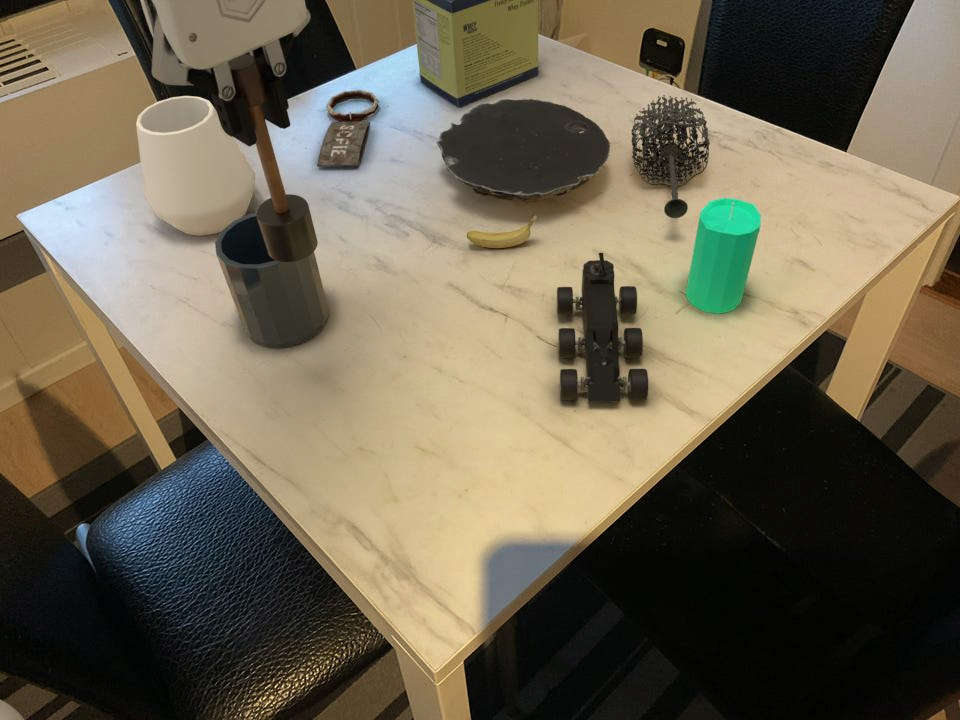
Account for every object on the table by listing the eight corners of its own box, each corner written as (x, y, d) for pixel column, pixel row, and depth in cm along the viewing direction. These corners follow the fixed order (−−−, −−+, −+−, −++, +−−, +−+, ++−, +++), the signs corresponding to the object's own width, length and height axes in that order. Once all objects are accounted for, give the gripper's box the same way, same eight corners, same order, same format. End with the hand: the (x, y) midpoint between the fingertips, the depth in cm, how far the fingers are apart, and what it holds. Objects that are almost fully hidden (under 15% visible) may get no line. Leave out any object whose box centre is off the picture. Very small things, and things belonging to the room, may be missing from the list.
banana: (535, 238, 95) (535, 210, 92) (537, 247, 94) (537, 219, 91) (467, 243, 95) (465, 216, 92) (468, 253, 93) (466, 225, 91)
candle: (716, 269, 89) (735, 178, 80) (754, 300, 85) (778, 208, 77) (673, 289, 87) (689, 198, 79) (710, 321, 84) (731, 229, 75)
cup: (230, 171, 108) (198, 74, 98) (283, 212, 101) (255, 112, 91) (138, 214, 102) (95, 115, 92) (188, 261, 95) (147, 159, 85)
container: (248, 356, 83) (218, 276, 75) (241, 301, 90) (212, 221, 82) (335, 336, 85) (314, 255, 77) (322, 282, 91) (301, 202, 83)
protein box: (540, 74, 122) (540, -31, 111) (458, 109, 116) (449, 1, 105) (498, 51, 128) (495, -51, 117) (418, 83, 122) (406, -21, 111)
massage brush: (630, 240, 93) (637, 172, 87) (627, 140, 108) (633, 74, 102) (711, 243, 92) (726, 174, 86) (698, 141, 107) (709, 75, 101)
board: (601, 128, 111) (604, 94, 107) (615, 224, 96) (618, 188, 92) (444, 133, 112) (441, 99, 108) (433, 228, 97) (429, 193, 93)
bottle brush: (270, 267, 68) (210, 81, 56) (265, 237, 71) (208, 53, 59) (321, 256, 69) (273, 69, 56) (314, 226, 72) (268, 43, 59)
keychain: (307, 170, 107) (304, 157, 106) (332, 99, 120) (330, 87, 119) (364, 169, 107) (361, 156, 105) (383, 98, 120) (381, 86, 118)
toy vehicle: (632, 302, 86) (640, 237, 80) (646, 408, 76) (657, 344, 70) (556, 303, 87) (558, 238, 80) (560, 409, 76) (562, 344, 70)
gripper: (88, -91, 43) (195, 196, 56) (325, -164, 50) (370, 104, 63) (28, -117, 46) (142, 158, 60) (257, -181, 54) (312, 76, 67)
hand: (259, 128), depth 61 cm, fingers closed on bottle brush, 2 cm apart
